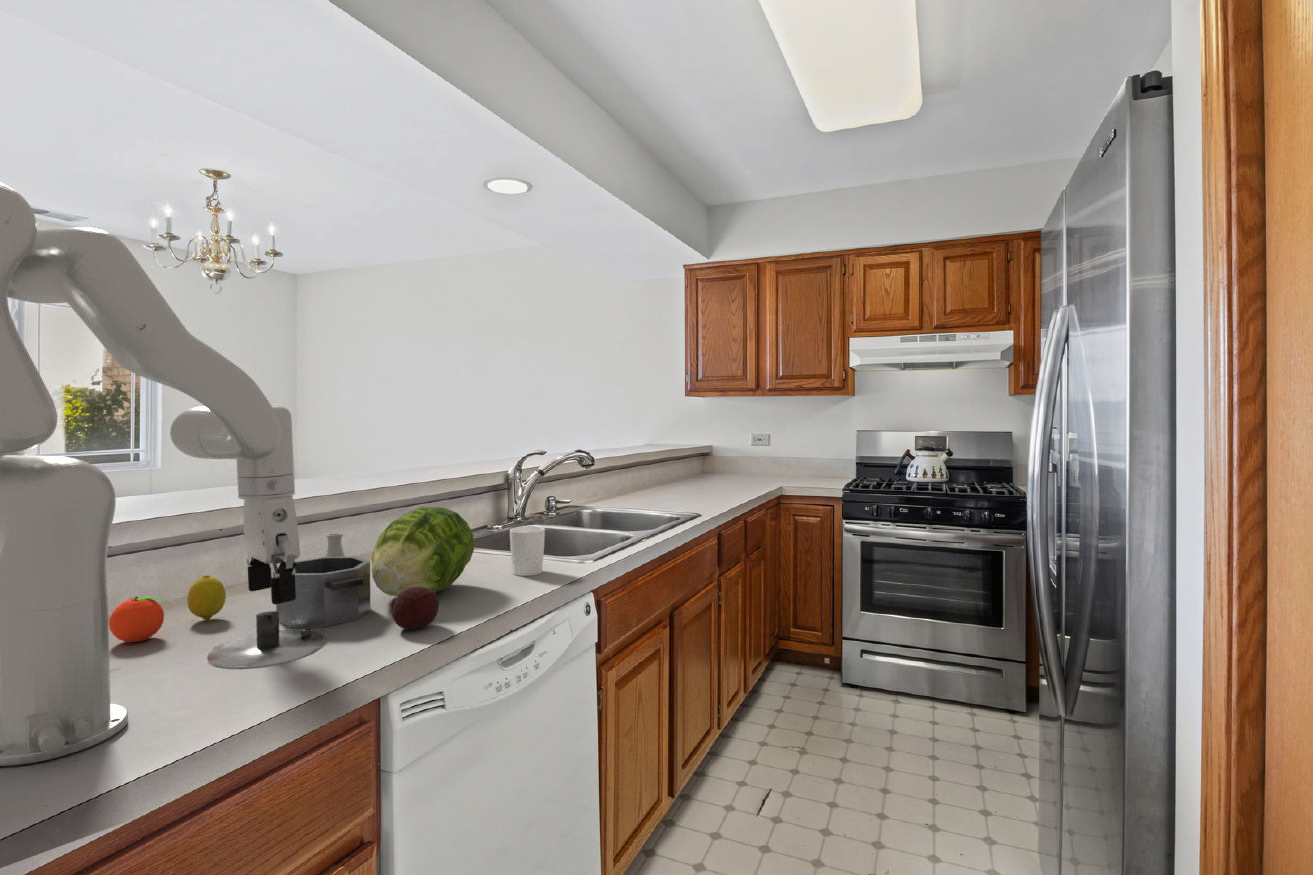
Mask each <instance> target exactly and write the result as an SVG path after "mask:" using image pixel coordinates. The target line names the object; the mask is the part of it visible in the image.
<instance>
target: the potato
mask: <svg viewBox="0 0 1313 875" xmlns="http://www.w3.org/2000/svg"><path fill="white" fill-rule="evenodd" d="M439 605H440V602H439V598H438V595H437V594H436V593H435V592H434V591H432V590H431V589H428V588H424V587H411V588H408V589H406V590H404V591H403V592H401V593H400V594H399V595H398V596H395V598H394V603H393V605H392V608H391V609H392V610H391V615H392V620H393V621H394V622H395V624H396V625H397V626H398V627H400V628H401V629H406V630H412V631H415V630H418V629H421V628H424V627H427V626H428V625H429V624H431V623H432V622H434V620H435V618H436V617H437V614H438V612H439Z"/></svg>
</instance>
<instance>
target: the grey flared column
mask: <svg viewBox="0 0 1313 875" xmlns="http://www.w3.org/2000/svg"><path fill="white" fill-rule="evenodd" d="M342 537H343V533H342V532H334V533H328V534H326V539H327V546H326V547H327V548H326V552H325V555H324V557H346V555H345V553H344V549H343V546H342V545H343V544H342Z"/></svg>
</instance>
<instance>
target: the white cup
mask: <svg viewBox="0 0 1313 875" xmlns="http://www.w3.org/2000/svg"><path fill="white" fill-rule="evenodd" d="M545 532H546V529H545V528H544V527H541V526H527V525H526V526H517V527H513V528H510V529H509V540H510V541H509V544H510V546H509V547H510V559H511V570H512V572H511V573H512V574H513V575H515V576H518V577H530V576H537V575H540V574H542V573H543V564H544V563H543V562H544V556H545V555H544V553H545V552H544V551H545V537H546V534H545Z"/></svg>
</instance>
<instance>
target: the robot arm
mask: <svg viewBox="0 0 1313 875" xmlns="http://www.w3.org/2000/svg"><path fill="white" fill-rule="evenodd" d="M8 299H13V300H18V301H22V302H28V303H34V304H35V303H36V304H46V305H47V304H48V305H49V304H65V303H67V304H68V305H69V307H70V308H71V309H72V310H73V311H74V312H75V313H76V315H77V316H78V317H79V318H80V319H81V321H82V322H83V323H84V324H85V326H87V328H88V329H89V330H90V331H91V333H92V334H93V335H94V336H95V338H96V339H97V340H98V341H99V342H100V343H101V345H102V346H103V347H104V348H105V350H106V351H107V352H108V354H110V355H111V357H112V358H113V359H114V361H115V362H116V363H117V364H118V365H119V366H120V367H122V368H124V369H125V370H127V371H129V372H132V373H133V374H136V375H138V376H139V377H142V378H144V379H146V380H149V381H153V382H155V383H158V384H161V385H164V386H167V387H170V388H171V389H174V390H177V391H179V392H181V393H183V394H185V395H187V396H189V397H190V398H193V399H194V400H196V401H197V402H198V403H200V404H201V406H196V407H191V408H189V409H186V410H184V411H183V412H181V413H180V414H178V415H177V417H176V418H175V419H174V420H173V422H172V423H171V425H170V429H169V431H170V439H171V442H172V443H173V445H174V446H175V447H176V448H177V450H179V451H180V452H182V453H183V454H185V455H186V456H190V457H193V458H198V459H207V460H209V459H210V460H236V473H237V474H236V476H237V477H236V478H237V479H236V480H237V495H238V496H237V497H238V499H240V500H243V542H244V548H245V552H246V554H247V555H248V556H247V559H246V564H247V581H248V582H247V583H248V584H247V585H248V586H247V587H248V591H249V592H257V591H261V590H266V589H270V596H271V597H270V598H271V603H272V604H273V605H275V606H276V604H280V603H285V602H289V601H293V600H295V599H296V589H295V573H296V571H295V565H296V563H295V561H296V559H298V558H299V557H300V553H301V550H300V538H299V536H300V535H299V530H298V529H299V528H298V519H297V517H298V516H297V511H296V506H295V502H294V501H295V500H294V497H293V496H295V494H296V490H295V489H296V488H295V486H296V484H295V467H294V445H293V444H294V443H293V439H294V438H293V420H292V413H291V412H290V410H289V408H287V407H284V406H280V405H272V404H271V403H270V401H269V400H268V399H267V397H266V396H265V394H264V393H263V391H262V390H261V388H260V387H259V385H258V384H257V383H256V382H255V381H254V379H252V377H250V375H248V374H247V373H246V372H245V371H244V370H243V369H242V368H240V366H238V365H237V364H235V363H233V361H231V360H230V359H228V358H227V357H225V356H224V355H222V354H221V353H220V352H218V351H217V350H215V349H214V348H212V347H211V346H210V345H208V344H206V343H205V342H204V341H202V340H200V339H199V338H197V337H195V336H194V335H193V334H191V332H189V330H188V329H187V328H186V327H185V325H184V324H183V323H182V321H181V320H180V318H179V317H178V315H177V314H176V313H175V312H174V310H173V308H172V307H171V306H170V305H169V303H168V302H167V300H166V299H165V298H164V297H163V295H162V293H161V292H160V290H158V288H157V286H156V285H155V284H154V282H153V280H152V279H151V278H150V277H149V275H148V274H147V272H146V271H145V269H144V268H143V267H142V266H141V264H140V263H139V260H137V258H135V256H134V255H133V254H132V252H131V251H130V249H129V248H128V247H127V246H126V244H124V242H123V241H122V240H120V238H118V237H117V236H115V235H114V234H112V233H110V232H107V231H105V230H103V229H98V228H93V227H81V226H80V227H74V226H73V227H59V228H49V229H48V228H47V229H38V224H37V219H36V216H35V213H34V210H33V208H32V207H31V205H30V204H29V202H28V201H27V199H25V198H24V196H22V195H21V194H20V193H19V192H18V191H17V190H15V189H13V188H12V187H10V186H8V185H6V184H4V183H2V182H0V541H3V543H2V547H1V551H0V767H8V766H9V767H10V766H21V765H22V766H23V765H29V764H34V763H38V762H45V761H49V760H53V759H56V758H61V757H64V756H67V755H71V754H74V753H77V752H80V751H82V750H86V749H88V748H91V747H93V746H95V745H98V744H100V743H102V742H105V741H106V740H108V739H109V738H111V737H113V736H114V735H115V734H117V733H119V732H120V731H121V730H123V728H125V727H126V725H127V724H128V721H129V720H128V719H129V718H128V717H129V713H128V709H127V708H125V707H124V706H122V705H119V704H116V703H111V682H110V678H111V676H110V675H111V674H110V648H109V647H110V645H109V644H110V641H109V638H110V637H109V636H110V635H109V614H108V613H109V608H108V605H109V604H108V601H109V599H108V575H107V574H108V573H107V572H108V569H107V568H108V567H107V566H108V564H107V563H108V551H109V550H108V548H109V540H110V535H111V530H112V526H113V521H114V518H115V513H116V512H115V511H116V492H115V488H114V485H113V483H112V482H111V480H110V479H109V477H108V476H107V474H106V473H105V472H104V471H102V470H101V469H100V468H98V467H97V466H96V465H93V464H92V463H89V462H87V461H85V460H81V459H77V458H74V457H69V456H68V457H67V456H61V455H29V454H28V455H26V454H25V455H20V453H19V452H21V453H22V452H25V451H27V450H28V451H29V450H31V449H34V448H38V446H41V445H42V444H44V443H45V442H46V441H48V440H49V439H50V438H51V437H52V435H53V434H54V433H55V432H56V429H57V425H58V412H57V408H56V405H55V402H54V400H53V398H52V395H51V394H50V392H49V389H48V388H47V386H46V384H45V381H44V380H43V378H42V377H41V374H40V372H39V371H38V368H37V367H36V365H35V363H34V361H33V359H32V357H31V355H30V354H29V352H28V350H27V348H26V346H25V344H24V342H23V340H22V339H21V336H20V334H19V333H18V329H17V327H16V325H15V323H14V320H13V318H12V314H11V312H10V308H9V302H8ZM278 564H279V566H278Z"/></svg>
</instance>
